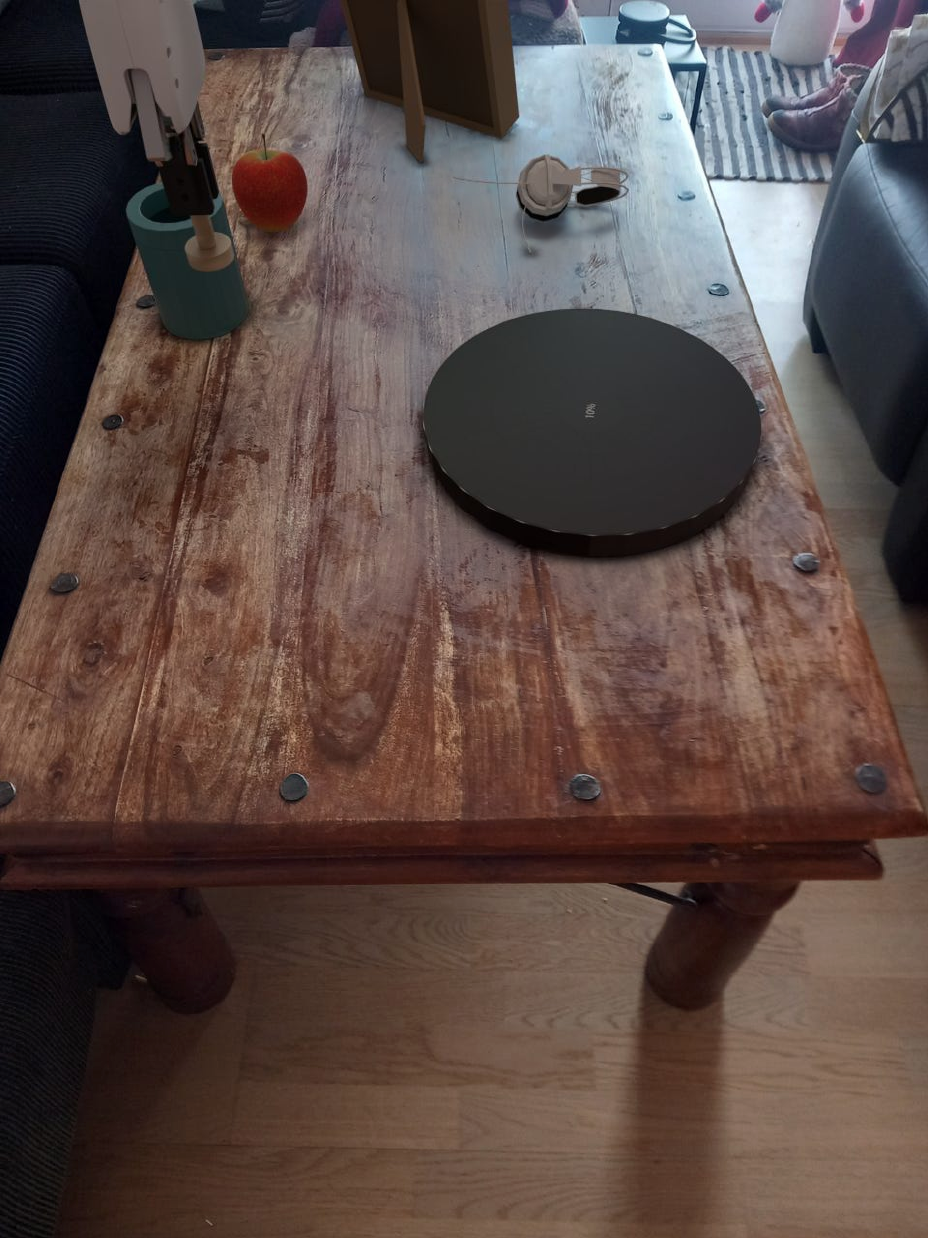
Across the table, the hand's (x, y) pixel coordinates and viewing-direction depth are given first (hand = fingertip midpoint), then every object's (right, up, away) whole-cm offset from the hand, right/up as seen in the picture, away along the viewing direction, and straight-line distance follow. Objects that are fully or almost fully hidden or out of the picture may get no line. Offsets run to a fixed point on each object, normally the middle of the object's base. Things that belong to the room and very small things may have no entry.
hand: (196, 203), depth 69 cm
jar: (-7, +1, +27) cm, 28 cm away
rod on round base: (0, -3, +4) cm, 5 cm away
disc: (+32, -14, +15) cm, 38 cm away
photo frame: (+14, +32, +50) cm, 61 cm away
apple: (-1, +14, +37) cm, 39 cm away
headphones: (+29, +13, +35) cm, 47 cm away
